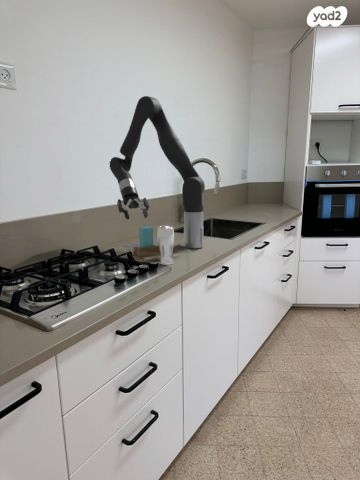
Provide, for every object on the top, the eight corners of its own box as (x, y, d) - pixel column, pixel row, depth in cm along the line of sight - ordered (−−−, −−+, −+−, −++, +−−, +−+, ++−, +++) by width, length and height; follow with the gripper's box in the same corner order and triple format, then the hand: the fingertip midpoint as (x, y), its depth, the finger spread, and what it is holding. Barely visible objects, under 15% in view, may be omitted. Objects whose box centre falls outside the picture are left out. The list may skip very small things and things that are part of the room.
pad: (122, 247, 166) (122, 245, 166) (142, 245, 171) (141, 243, 170) (129, 252, 158) (128, 250, 157) (149, 249, 162) (149, 247, 162)
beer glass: (168, 266, 136) (167, 229, 133) (154, 263, 140) (153, 227, 136) (177, 262, 142) (177, 226, 138) (163, 259, 145) (163, 224, 142)
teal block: (140, 253, 152) (139, 226, 149) (149, 252, 154) (148, 225, 151) (143, 255, 148) (142, 228, 145) (153, 254, 150) (152, 227, 147)
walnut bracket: (124, 254, 154) (124, 243, 152) (157, 250, 160) (157, 240, 159) (136, 264, 140) (136, 252, 138) (172, 258, 146) (172, 247, 145)
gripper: (115, 185, 159) (123, 213, 151) (144, 184, 165) (153, 211, 157) (112, 196, 165) (120, 223, 157) (140, 195, 171) (149, 221, 163)
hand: (137, 217), depth 157 cm, fingers open, 8 cm apart
